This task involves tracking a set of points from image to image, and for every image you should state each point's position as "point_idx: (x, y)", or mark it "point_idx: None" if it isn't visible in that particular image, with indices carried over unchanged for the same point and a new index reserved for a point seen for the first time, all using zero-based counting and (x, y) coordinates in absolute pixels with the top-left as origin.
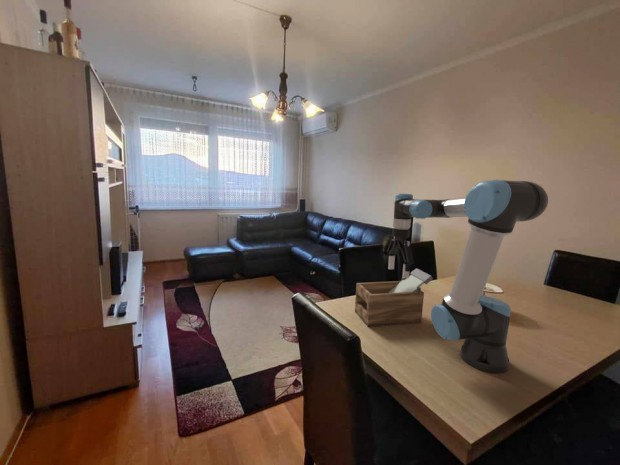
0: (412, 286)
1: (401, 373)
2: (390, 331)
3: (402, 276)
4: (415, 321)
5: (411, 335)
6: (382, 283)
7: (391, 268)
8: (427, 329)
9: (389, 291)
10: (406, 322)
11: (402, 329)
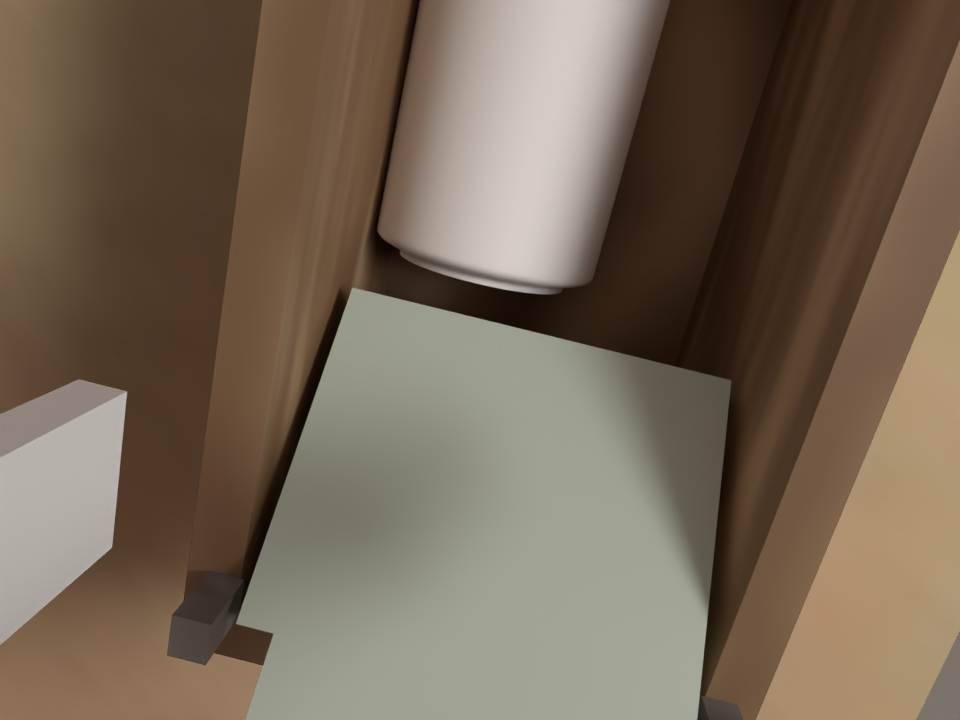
0: (361, 632)
1: None
2: None
3: (100, 403)
4: None
5: (157, 182)
6: (843, 324)
7: (949, 696)
8: (208, 403)
9: (715, 401)
10: None
11: None
